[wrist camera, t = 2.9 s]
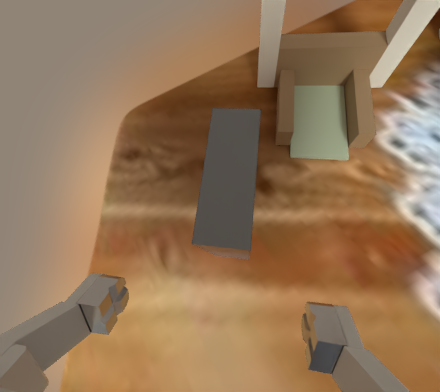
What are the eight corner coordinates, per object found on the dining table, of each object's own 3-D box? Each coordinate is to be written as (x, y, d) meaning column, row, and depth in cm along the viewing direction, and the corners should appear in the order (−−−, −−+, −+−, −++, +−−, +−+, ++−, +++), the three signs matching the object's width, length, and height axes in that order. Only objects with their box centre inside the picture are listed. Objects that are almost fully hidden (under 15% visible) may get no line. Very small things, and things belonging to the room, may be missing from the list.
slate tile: (249, 259, 21) (250, 250, 12) (215, 255, 22) (191, 244, 12) (255, 173, 24) (261, 109, 14) (226, 171, 24) (212, 108, 15)
